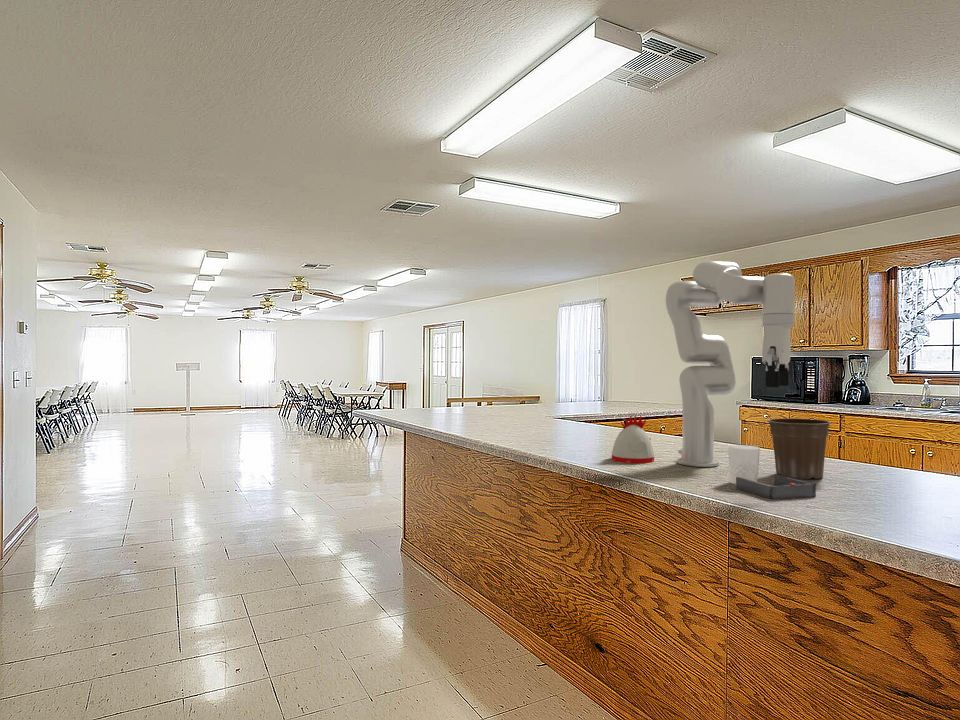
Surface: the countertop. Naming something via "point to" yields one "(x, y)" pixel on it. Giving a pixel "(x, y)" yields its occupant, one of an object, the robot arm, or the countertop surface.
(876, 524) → the countertop surface
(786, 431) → the plant pot
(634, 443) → the white and red dome
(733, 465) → the white cup
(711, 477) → the countertop surface
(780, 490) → the bracket
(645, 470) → the countertop surface
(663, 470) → the countertop surface
